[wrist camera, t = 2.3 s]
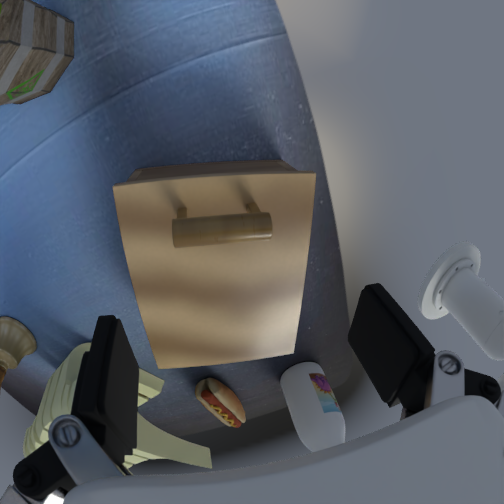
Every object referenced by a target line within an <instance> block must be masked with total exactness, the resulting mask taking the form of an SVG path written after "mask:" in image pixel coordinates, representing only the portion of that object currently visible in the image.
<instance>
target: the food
mask: <svg viewBox="0 0 504 504" xmlns="http://www.w3.org/2000/svg"><path fill="white" fill-rule="evenodd" d="M195 395H196V398H197V399H198V400H199V401H200V402H201V403H202V404H203V406H204V407H205V408H206V409H207V410H209V411H210V412H211V413H212V414H213V415H214V416H216V417H217V418H218V419H219V420H220V421H221V422H223V423H224V424H226V425H227V426H233V427H236V428H238V427H239V426H240V425H241V422H242V423H244V422H245V421H246V419H245V411H244V409H243V407H242V404H241V402H240V400H239V399H238V398H237V396H236V395H235V394H234V392H233V391H232V390H230V389H229V388H228V387H227V386H225V385H224V384H222V383H221V382H219V381H218V380H216V379H214V378H207V379H204V380H201V381H200V382H199V383H198V384H197V385H196V388H195Z"/></svg>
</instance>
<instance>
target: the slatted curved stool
mask: <svg viewBox="0 0 504 504" xmlns="http://www.w3.org/2000/svg"><path fill="white" fill-rule="evenodd" d="M90 347H91V343H84V344H81V345H78V346H77V347H76V348H74V349H73V350H72V352H71V353H70V354H69V355H68V356H67V358H66V359H65V360H64V361H63V362H62V364H61V365H60V366H59V367H58V368H57V370H56V371H55V372H54V373H53V375H52V376H51V377H50V378H49V380H48V383H47V386H46V389H45V392H44V395H43V398H42V401H41V404H40V407H39V411H38V415H36V418H35V420H34V422H33V424H32V425H31V426H30V427H29V428H27V429H26V434H25V438H24V443H23V453H24V457H25V458H26V457H27V456H28V455H30V454H31V453H32V452H34V451H35V450H36V449H37V448H39V447H40V446H41V445H43V444H44V443H45V442H47V441H48V440H49V438H48V430H49V426H50V424H51V423H52V421H53V420H54V419H55V418H57V417H59V416H61V415H66V414H69V415H70V414H71V408H72V402H73V397H74V392H75V387H76V382H77V378H78V373H79V369H80V365H81V361H82V357H83V354H84V353H85V351H90ZM163 384H164V380H162V379H160V378H158V377H156V376H154V375H152V374H150V373H148V372H146V371H144V370H142V369H140V368H139V388H138V407H139V406H140V405H142V404H143V403H145V402H147V401H148V397H149V398H153V397H154V396H156V395H158V394H159V393H161V390H162V386H163ZM148 458H149V459H158V458H168V459H172V460H175V461H179V462H183V463H188V464H192V465H197V466H202V467H207V468H212V463H211V457H210V450H209V448H206V447H203V446H200V445H196V444H193V443H190V442H188V441H185V440H182V439H180V438H177V437H175V436H173V435H170V434H168V433H166V432H164V431H162V430H161V429H159V428H157V427H155V426H154V425H152V424H151V423H149V422H148V421H147V420H146V419H144V418H143V417H142V416H141V415H140V414H139V413H138V412H137V448H136V449H133V455H125V462H124V463H123V464H124V465H125V466H126V468H127V469H128V468H130V467H131V466H133V463H134V464H137V463H140V462H142V461H146V460H148Z"/></svg>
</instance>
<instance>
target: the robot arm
mask: <svg viewBox="0 0 504 504" xmlns="http://www.w3.org/2000/svg"><path fill="white" fill-rule="evenodd" d="M433 305H434V307H435V308H436V309H437V310H438V311H446V310H448V311H449V312H450V313H451V315H452V316H453V317H454V318H455V319H456V320H457V321H458V322H459V323H460V324H461V326H462V327H463V328H464V329H465V330H466V331H467V332H468V334H469V335H470V336H471V337H472V338H473V339H474V340H475V342H476V343H477V344H478V345H479V346H480V348H481V349H482V350H483V351H484V352H485V353H486V355H487V356H488V357H490V358H491V359H494V360H504V299H503V298H502V297H501V296H500V295H499V294H497V293H496V292H495V291H494V290H493V289H492V288H491V287H490V286H489V285H487V283H486V282H485V278H480V277H479V276H478V275H476V274H475V264H474V263H473V262H472V261H471V260H470V259H468V258H464V259H461V260H459V261H457V262H456V263H454V264H453V265H452V266H451V267H450V268H449V269H448V270H447V271H446V272H445V274H444V275H443V276H442V278H441V279H440V281H439V283H438V285H437V287H436V289H435V292H434V295H433ZM348 341H349V344H350V345H351V347H352V349H353V350H354V352H355V354H356V355H357V357H358V359H359V361H360V362H361V364H362V366H363V367H364V369H365V371H366V373H367V374H368V376H369V378H370V379H371V381H372V383H373V385H374V386H375V388H376V390H377V392H378V393H379V395H380V397H381V399H382V400H383V401H384V402H387V404H388V406H389V407H392V406H395V405H397V404H399V403H400V402H401V404H402V405H403V409H402V414H401V419H400V421H399V422H397V423H394V424H392V425H389V426H387V427H385V428H383V429H380V430H378V431H375V432H373V433H370V434H367V435H365V436H362V437H359V438H357V439H354V440H351V441H348V442H345V443H342V444H339V445H336V446H333V447H330V448H327V449H323V450H320V451H316V452H313V453H309V454H306V455H302V456H298V457H294V458H290V459H286V460H281V461H276V462H272V463H266V464H261V465H256V466H250V467H244V468H237V469H230V470H222V471H213V472H202V473H189V474H172V475H138V476H137V475H135V476H134V475H133V474H132V473H131V472H130V471H129V470H128V469H127V468H126V466H125V465H124V464H123V463H124V462H125V455H133V449H136V448H137V412H138V388H139V366H138V363H137V361H136V358H135V356H134V354H133V351H132V349H131V346H130V344H129V341H128V339H127V336H126V333H125V331H124V328H123V325H122V323H121V320H120V319H116V317H115V316H114V315H106V316H99V317H98V320H97V324H96V328H95V331H94V335H93V339H92V343H91V347H90V351H85V353H84V354H83V357H82V361H81V365H80V369H79V373H78V378H77V382H76V387H75V392H74V397H73V402H72V408H71V414H70V415H69V414H66V415H61V416H59V417H57V418H55V419H54V420H53V421H52V423H51V424H50V426H49V430H48V438H49V440H48V441H47V442H45V443H44V444H43V445H41V446H40V447H39V448H37V449H36V450H35V451H34V452H32V453H31V454H30V455H28V456H27V457H26V458H24V459H23V460H22V461H20V462H19V463H18V464H17V465H16V466H15V469H14V472H13V480H14V484H13V486H11V485H9V486H8V488H7V489H6V491H5V493H4V494H3V496H2V498H1V499H0V504H504V373H503V375H502V376H501V377H500V378H499V379H498V381H496V380H495V379H494V378H492V377H490V376H487V375H484V374H480V373H477V372H474V371H471V370H468V369H464V364H463V362H462V360H461V359H460V357H459V356H458V355H457V354H455V353H454V352H451V351H446V350H445V351H440V352H439V353H437V354H436V355H435V354H434V351H435V349H434V348H433V347H432V345H431V344H430V342H429V341H428V340H427V339H426V337H425V336H424V335H423V334H422V332H421V331H420V330H419V329H418V327H417V326H416V325H415V324H414V323H413V322H412V320H411V319H410V318H409V317H408V315H407V314H406V313H405V312H404V311H403V310H402V308H401V307H400V306H399V305H398V303H397V302H396V301H395V300H394V299H393V298H392V297H391V295H390V294H389V293H388V292H387V291H386V290H385V289H384V287H383V286H382V285H381V284H379V283H376V284H371V285H366V286H365V288H364V289H363V290H362V291H361V294H360V298H359V301H358V305H357V308H356V312H355V315H354V318H353V322H352V325H351V328H350V331H349V334H348Z"/></svg>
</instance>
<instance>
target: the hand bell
mask: <svg viewBox="0 0 504 504" xmlns="http://www.w3.org/2000/svg"><path fill="white" fill-rule="evenodd" d="M36 348H37V344H36V340H35V338H34V336H33V335H32V333H31V332H30V331H29V330H28V329H27V328H26V327H25V326H24V325H23V324H22V323H20V322H19V321H17V320H15V319H13V318H10V317H5V316H3V317H0V388H1V383H2V381H3V378H4V376H5V374H6V371H7V369H8V368H10V369H15V368H16V367H17V366H18V364H19V362H20V361H21V359H22V358H23V357H24V356H25V355H30V354H32V353H33V352H35V350H36Z"/></svg>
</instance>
